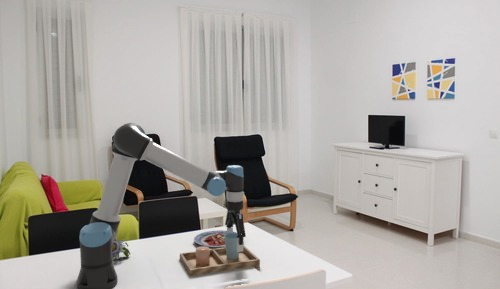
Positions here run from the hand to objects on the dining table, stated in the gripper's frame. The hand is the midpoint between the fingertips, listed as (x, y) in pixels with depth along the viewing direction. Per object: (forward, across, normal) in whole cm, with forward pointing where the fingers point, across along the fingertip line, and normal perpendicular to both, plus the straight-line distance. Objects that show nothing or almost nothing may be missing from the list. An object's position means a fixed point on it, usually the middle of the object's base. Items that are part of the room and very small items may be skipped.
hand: (234, 246), depth 184 cm
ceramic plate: (+8, +28, -2) cm, 30 cm away
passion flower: (+8, +24, +50) cm, 56 cm away
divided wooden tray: (+7, 0, +8) cm, 10 cm away
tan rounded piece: (+6, 0, +15) cm, 16 cm away
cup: (+6, +3, 0) cm, 7 cm away
